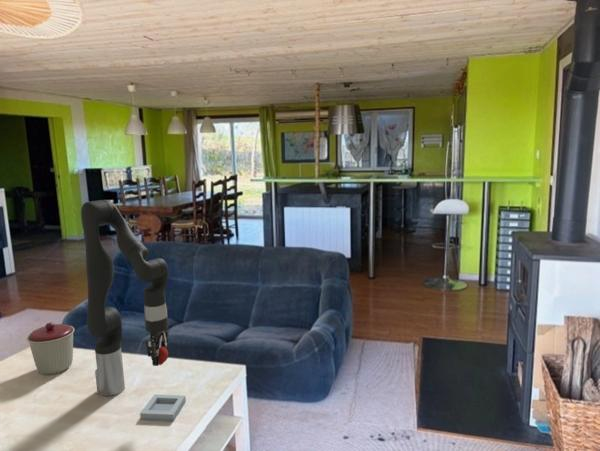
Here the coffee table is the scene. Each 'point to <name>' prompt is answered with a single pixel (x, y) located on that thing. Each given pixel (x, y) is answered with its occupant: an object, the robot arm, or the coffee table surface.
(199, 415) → the coffee table surface
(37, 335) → the canister
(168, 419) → the base plate
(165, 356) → the onion
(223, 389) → the coffee table surface
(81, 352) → the coffee table surface
